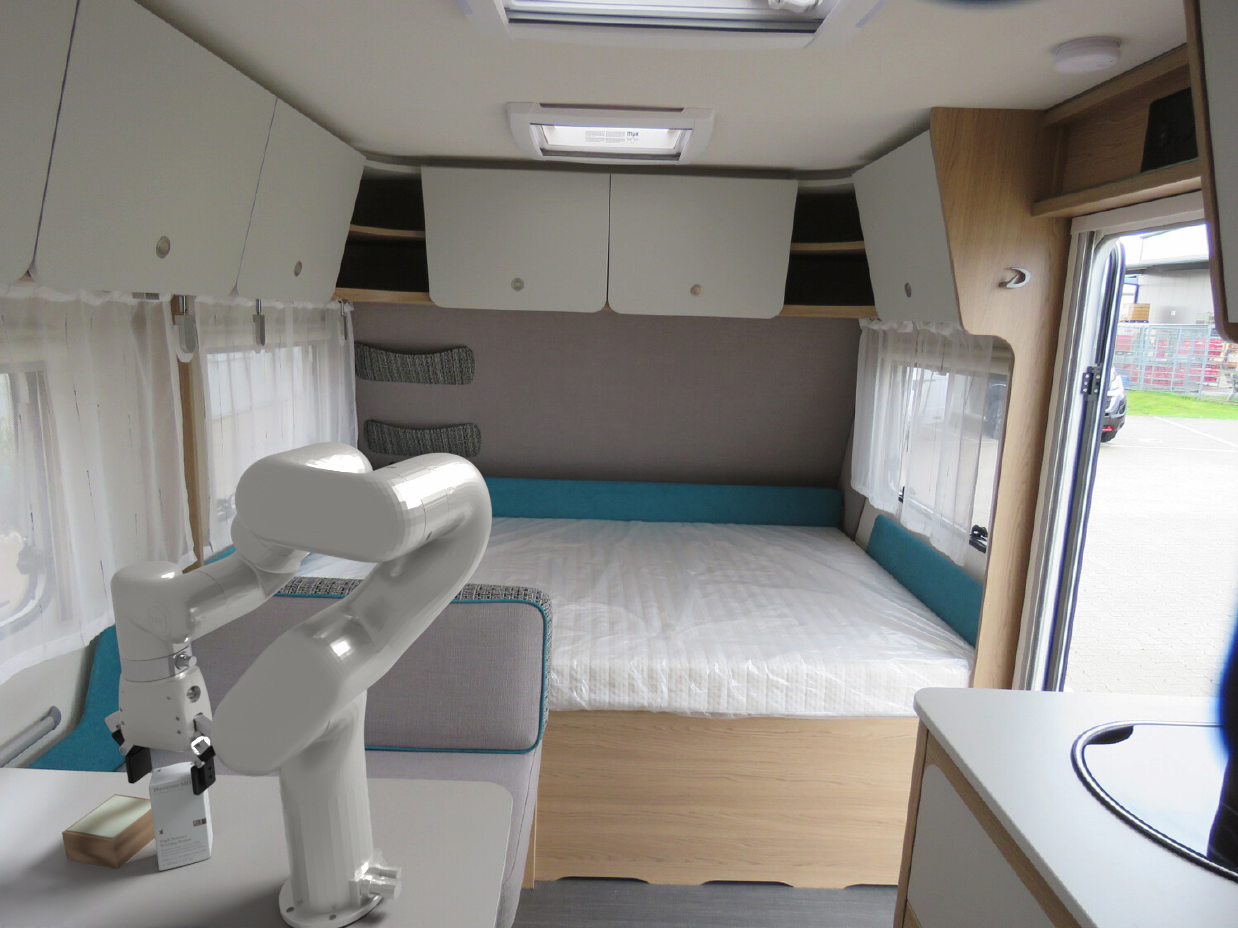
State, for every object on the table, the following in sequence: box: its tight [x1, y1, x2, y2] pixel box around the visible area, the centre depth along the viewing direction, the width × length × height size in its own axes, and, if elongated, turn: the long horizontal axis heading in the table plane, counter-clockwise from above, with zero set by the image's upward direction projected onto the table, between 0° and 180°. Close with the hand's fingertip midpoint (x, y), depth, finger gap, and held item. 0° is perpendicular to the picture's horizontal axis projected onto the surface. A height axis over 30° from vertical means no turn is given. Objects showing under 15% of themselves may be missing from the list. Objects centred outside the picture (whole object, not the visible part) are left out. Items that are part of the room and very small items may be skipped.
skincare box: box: [148, 760, 214, 871], centre depth 97 cm, size 6×4×12 cm
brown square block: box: [61, 793, 155, 869], centre depth 100 cm, size 8×8×4 cm
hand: (172, 782), depth 96 cm, fingers open, 9 cm apart
